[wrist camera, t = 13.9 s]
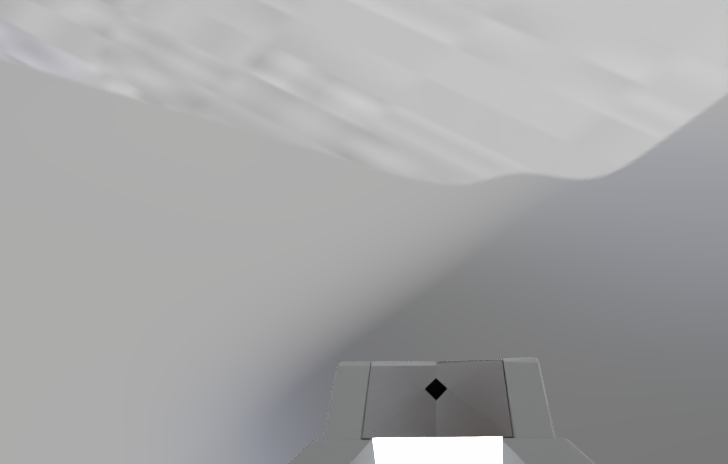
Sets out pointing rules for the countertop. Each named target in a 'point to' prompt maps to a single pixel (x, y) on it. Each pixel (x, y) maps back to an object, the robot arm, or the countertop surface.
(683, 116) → the countertop surface
